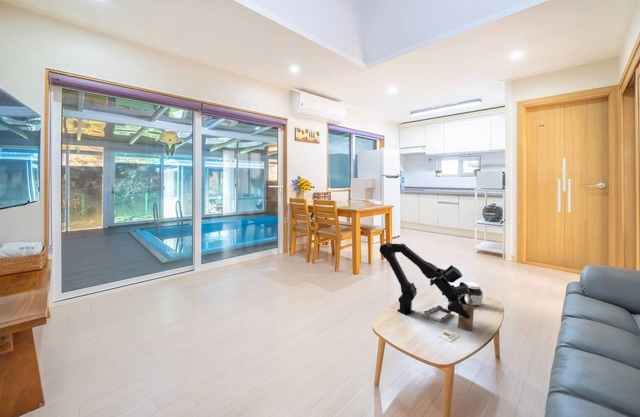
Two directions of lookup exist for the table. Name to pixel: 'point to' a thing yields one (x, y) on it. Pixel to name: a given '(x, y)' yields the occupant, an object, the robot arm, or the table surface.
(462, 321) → the walnut block
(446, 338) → the card
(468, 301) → the spread jar
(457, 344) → the table surface
